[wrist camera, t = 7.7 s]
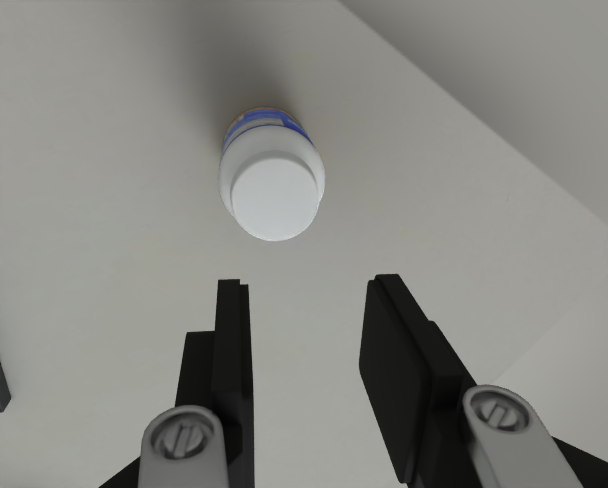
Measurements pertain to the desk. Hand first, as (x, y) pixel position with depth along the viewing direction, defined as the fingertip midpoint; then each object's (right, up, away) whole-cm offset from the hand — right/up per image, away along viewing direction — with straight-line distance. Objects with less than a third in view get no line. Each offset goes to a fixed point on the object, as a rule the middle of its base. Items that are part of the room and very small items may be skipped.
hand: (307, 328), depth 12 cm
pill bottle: (-3, +8, +17) cm, 19 cm away
